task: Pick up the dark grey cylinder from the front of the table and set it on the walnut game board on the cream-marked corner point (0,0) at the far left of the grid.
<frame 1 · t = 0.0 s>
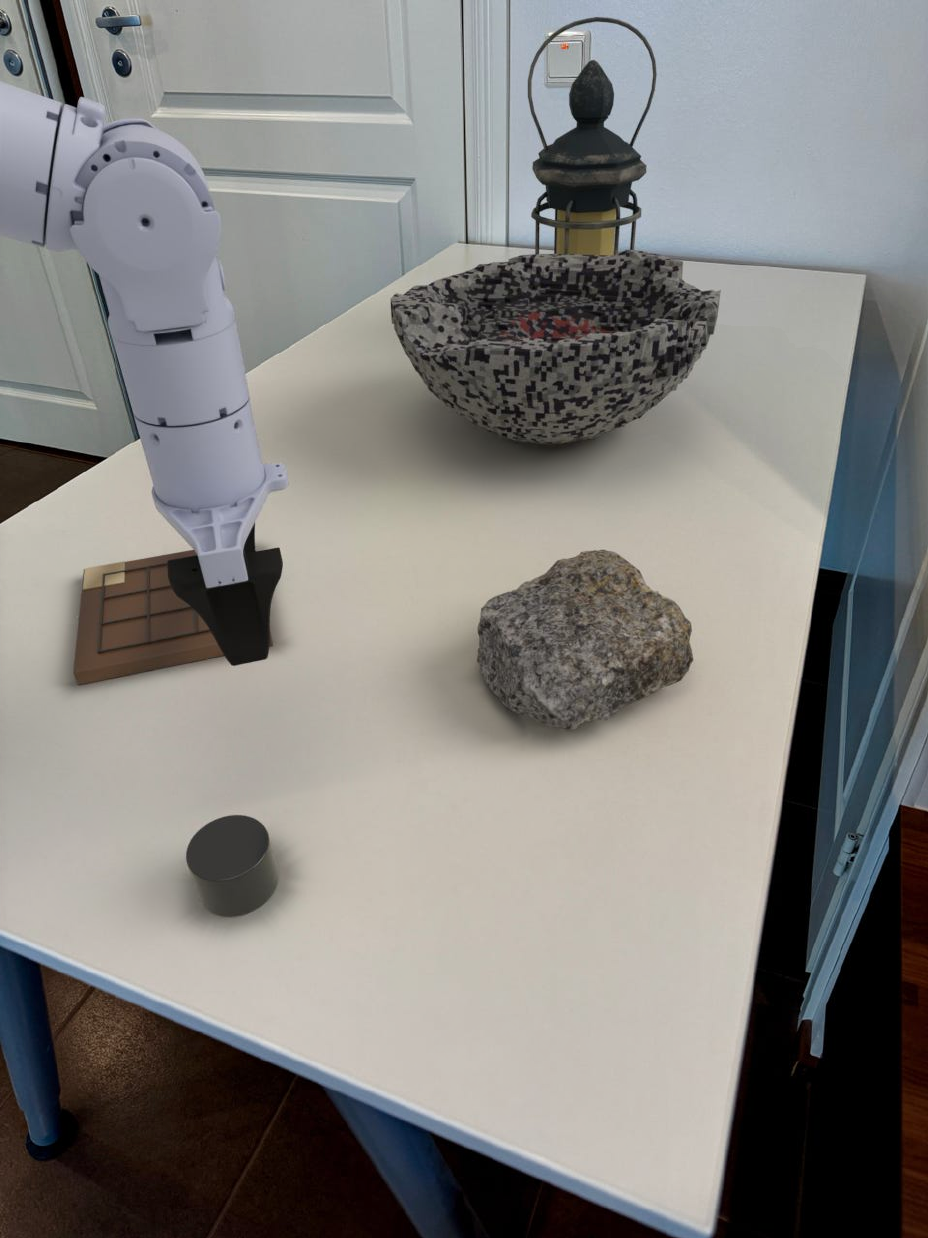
hand: (243, 619, 52), 10 cm above the table, tool pointing down, fingers open, 7 cm apart
lantern: (580, 342, 115), on the table
rock: (581, 670, 63), on the table
board: (175, 611, 70), on the table
dark grey cylinder: (239, 883, 49), on the table
bowl: (549, 428, 94), on the table
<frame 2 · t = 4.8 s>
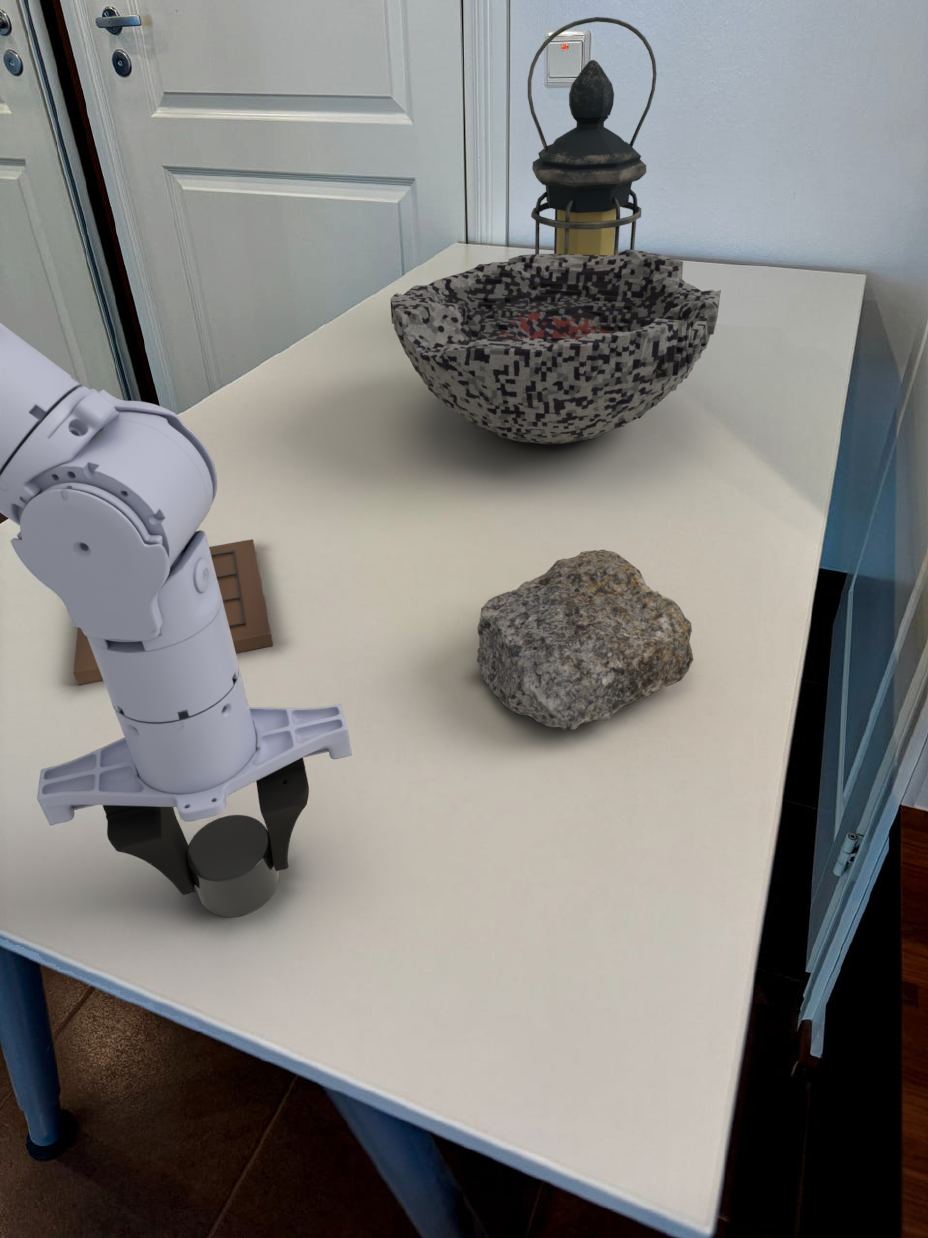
hand: (233, 867, 48), 1 cm above the table, tool pointing down, fingers closed on dark grey cylinder, 4 cm apart
dark grey cylinder: (239, 883, 49), on the table, touching gripper
everything else where it was.
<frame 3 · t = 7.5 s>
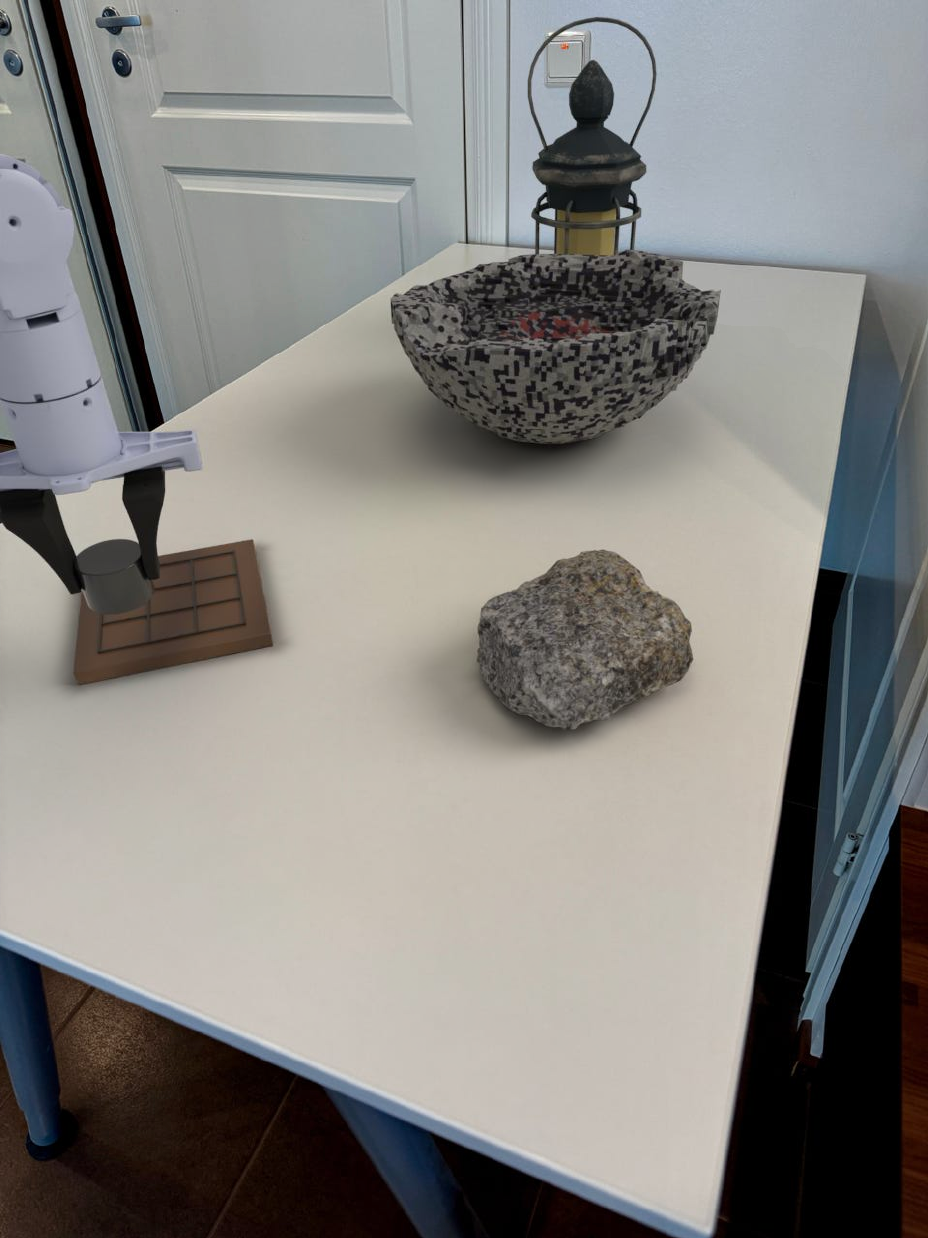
hand: (115, 578, 59), 8 cm above the table, tool pointing down, fingers closed on dark grey cylinder, 4 cm apart
dark grey cylinder: (121, 595, 59), point 7 cm above the table, touching gripper
everything else where it was.
when the fingers open (3 cm above the table, at t = 10.4 s): dark grey cylinder stays where it is, resting on board.
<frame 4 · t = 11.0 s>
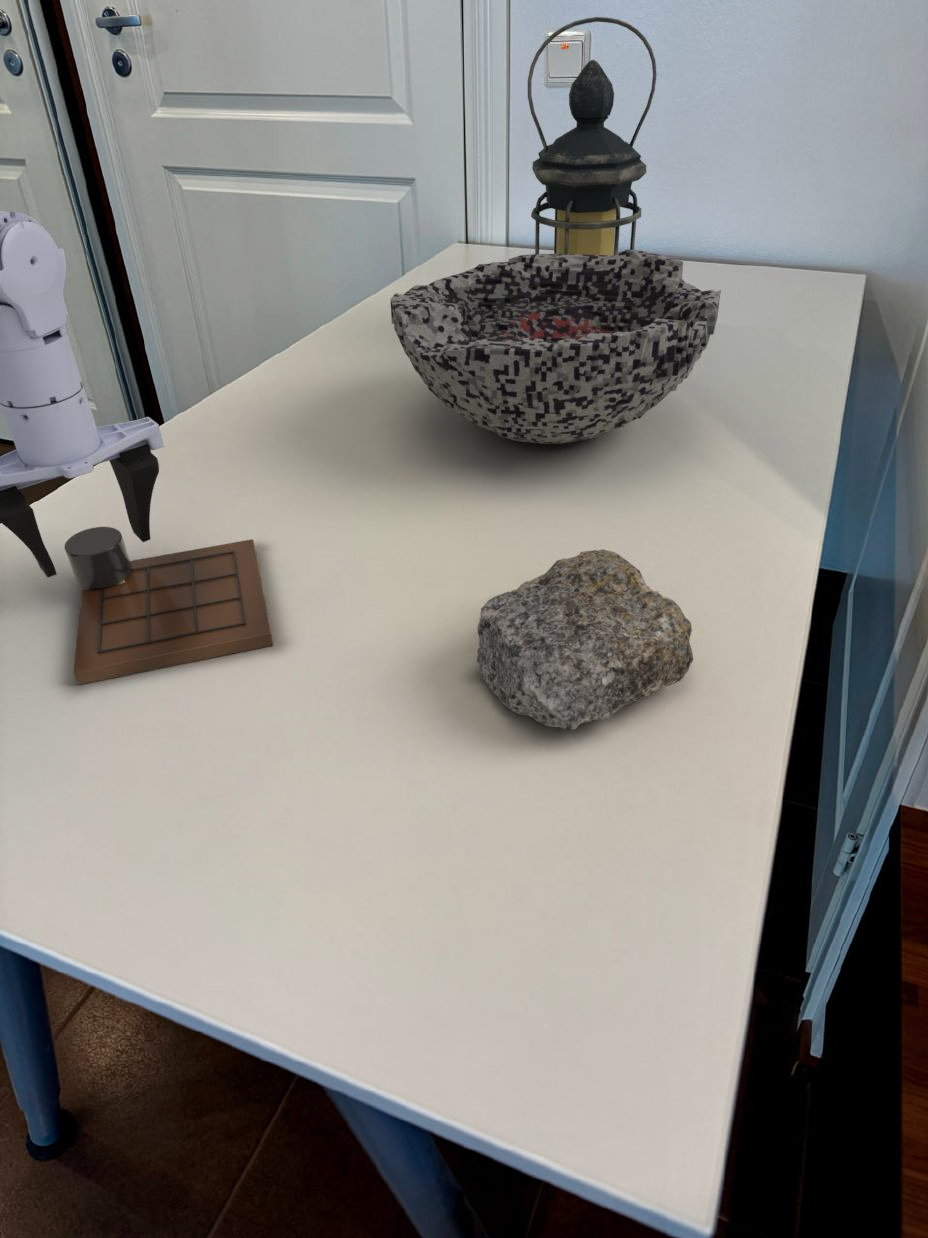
hand: (96, 553, 71), 3 cm above the table, tool pointing down, fingers open, 7 cm apart
dark grey cylinder: (104, 573, 72), point 1 cm above the table, touching board
everything else where it was.
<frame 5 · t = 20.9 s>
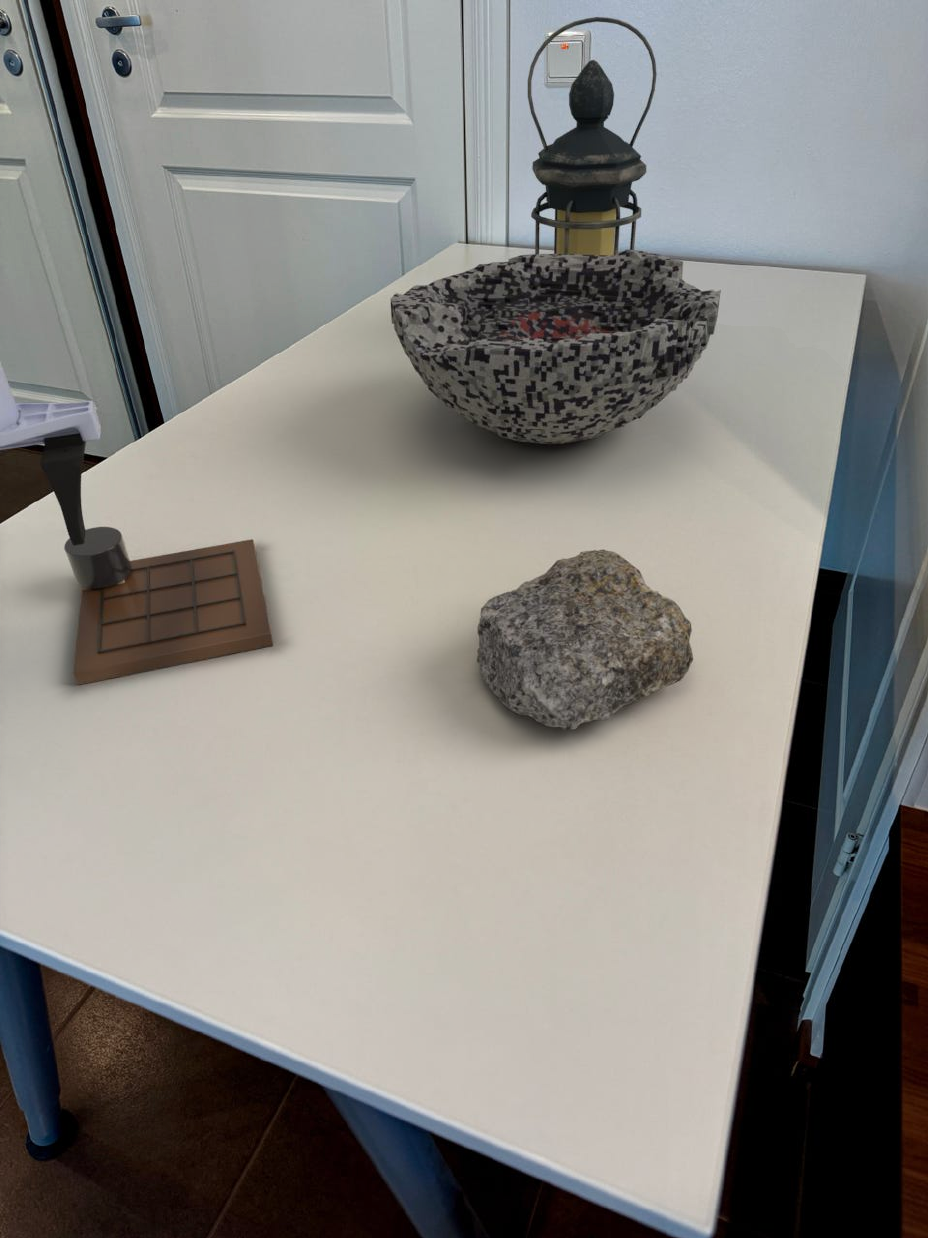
hand: (21, 547, 60), 9 cm above the table, tool pointing down, fingers open, 7 cm apart
nothing on the table moved.
at the end: dark grey cylinder 0.1 cm from the target spot on the board, point 1.4 cm above the board's base; dark grey cylinder tilted 0°; the gripper is holding nothing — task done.
